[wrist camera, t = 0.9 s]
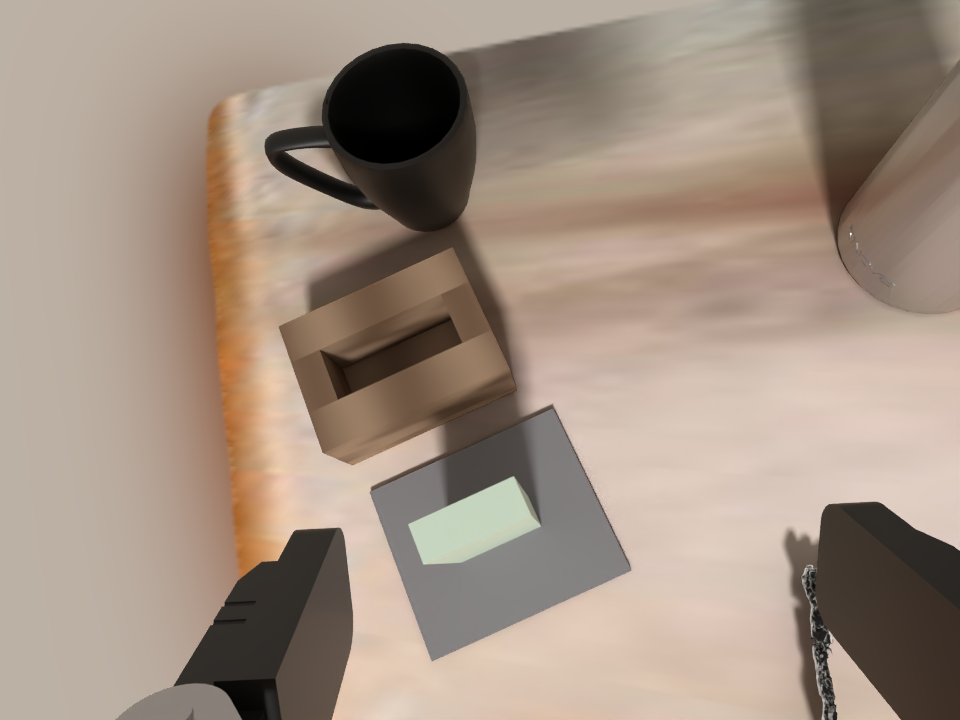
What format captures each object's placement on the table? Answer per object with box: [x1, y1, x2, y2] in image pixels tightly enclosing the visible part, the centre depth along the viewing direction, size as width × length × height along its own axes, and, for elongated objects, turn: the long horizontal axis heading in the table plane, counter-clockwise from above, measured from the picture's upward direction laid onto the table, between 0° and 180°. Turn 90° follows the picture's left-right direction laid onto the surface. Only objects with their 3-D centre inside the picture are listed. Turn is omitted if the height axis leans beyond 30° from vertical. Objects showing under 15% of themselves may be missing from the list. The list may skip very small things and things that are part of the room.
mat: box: [370, 408, 631, 661], centre depth 38 cm, size 12×10×1 cm
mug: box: [265, 43, 476, 232], centre depth 40 cm, size 8×12×10 cm
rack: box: [279, 247, 516, 465], centre depth 39 cm, size 11×8×5 cm
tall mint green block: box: [408, 476, 541, 565], centre depth 33 cm, size 5×2×10 cm, turn 113°
